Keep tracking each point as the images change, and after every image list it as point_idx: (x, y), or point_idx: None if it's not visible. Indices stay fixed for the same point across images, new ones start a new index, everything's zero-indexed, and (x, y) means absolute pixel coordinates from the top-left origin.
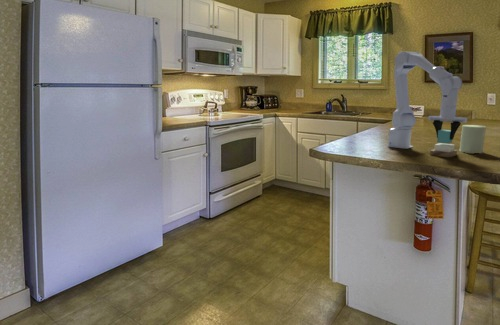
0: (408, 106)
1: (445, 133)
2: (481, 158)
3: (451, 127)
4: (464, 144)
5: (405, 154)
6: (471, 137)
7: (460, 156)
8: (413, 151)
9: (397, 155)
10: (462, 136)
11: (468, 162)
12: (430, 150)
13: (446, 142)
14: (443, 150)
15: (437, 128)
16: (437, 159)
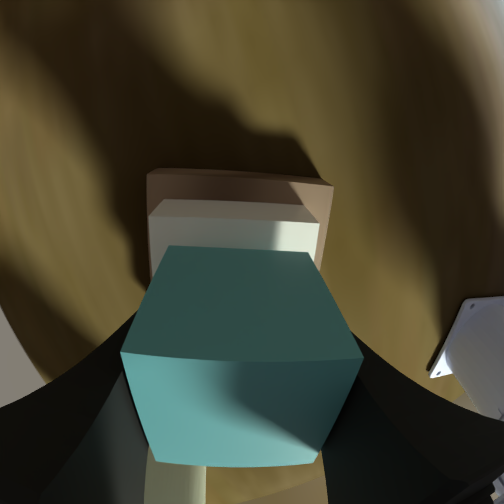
0: None
1: (209, 324)
2: (28, 279)
3: (77, 427)
4: None
5: (454, 99)
6: None
7: (121, 269)
8: (433, 253)
9: (470, 42)
10: (185, 486)
11: (28, 79)
12: (332, 186)
13: (193, 251)
14: (218, 204)
15: (394, 398)
16: (216, 16)
